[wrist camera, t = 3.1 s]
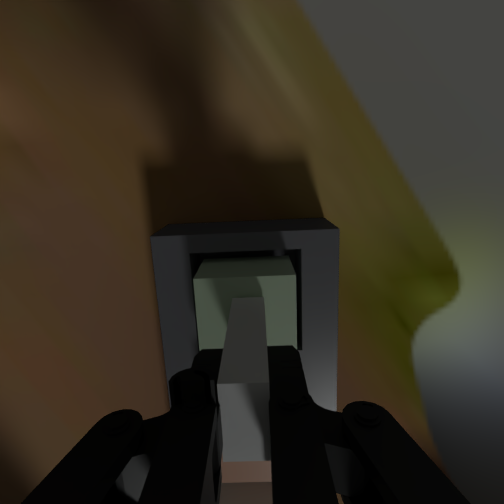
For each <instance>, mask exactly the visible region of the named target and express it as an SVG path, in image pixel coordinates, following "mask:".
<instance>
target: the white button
mask: <svg viewBox="0 0 504 504" xmlns="http://www.w3.org/2000/svg"><path fill="white" fill-rule="evenodd" d="M219 504H273V501H272V482H239V483H221V492H220V501H219Z"/></svg>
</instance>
